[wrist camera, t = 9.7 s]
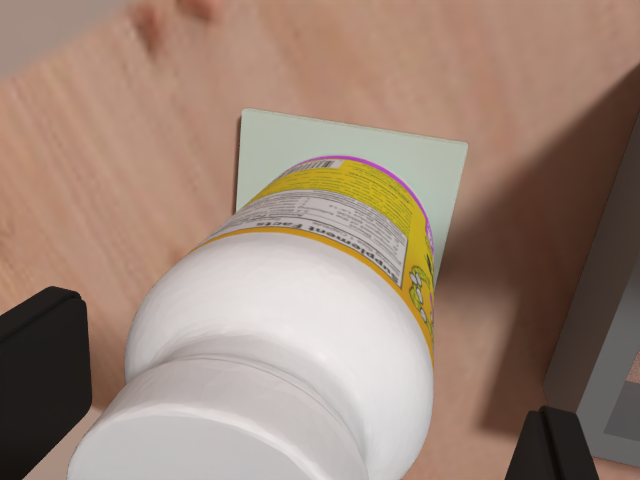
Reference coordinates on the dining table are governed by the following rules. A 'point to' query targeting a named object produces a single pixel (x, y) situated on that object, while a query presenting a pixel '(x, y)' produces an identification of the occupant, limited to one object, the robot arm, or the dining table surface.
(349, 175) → the supplement bottle
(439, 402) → the dining table surface
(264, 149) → the rest pad
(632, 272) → the case
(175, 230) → the dining table surface
